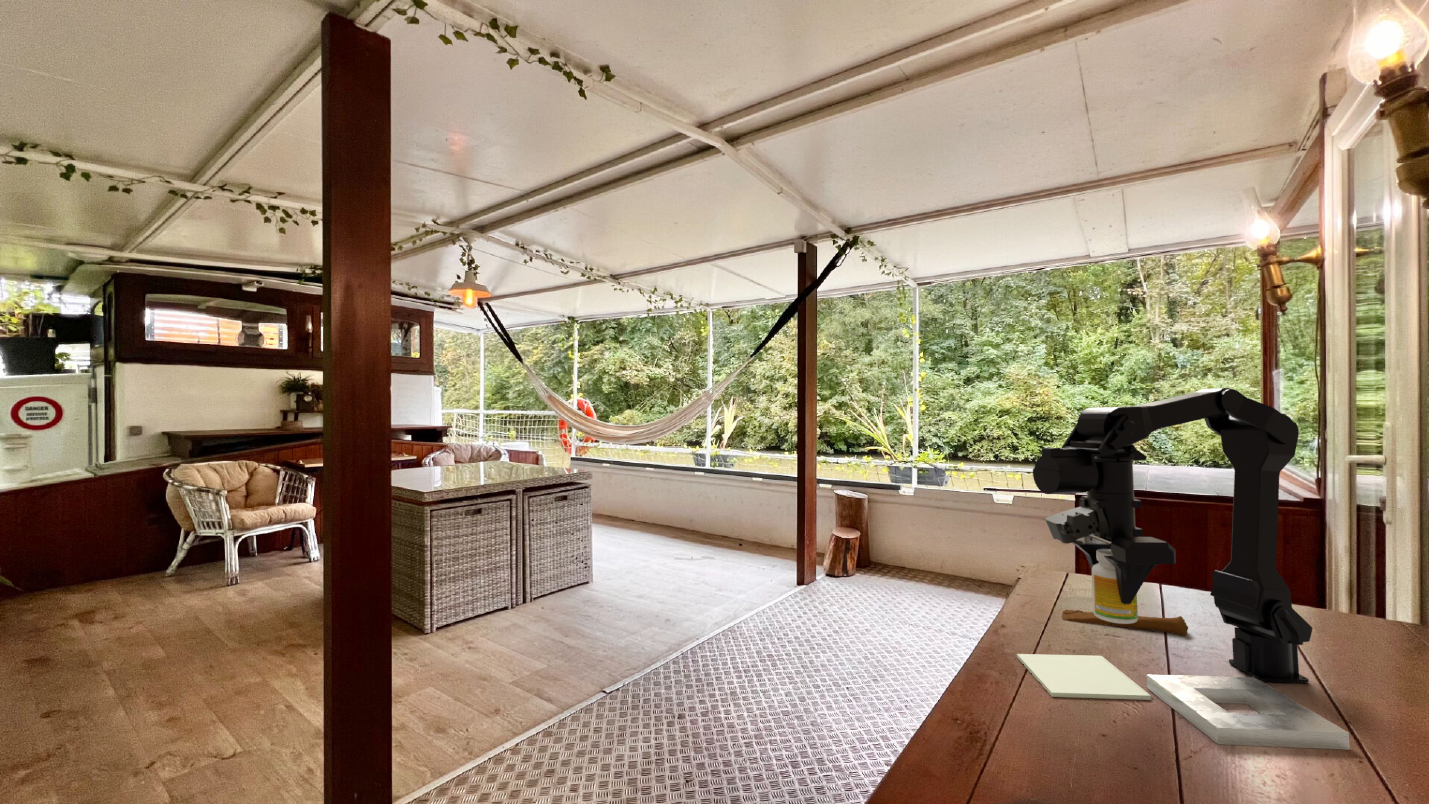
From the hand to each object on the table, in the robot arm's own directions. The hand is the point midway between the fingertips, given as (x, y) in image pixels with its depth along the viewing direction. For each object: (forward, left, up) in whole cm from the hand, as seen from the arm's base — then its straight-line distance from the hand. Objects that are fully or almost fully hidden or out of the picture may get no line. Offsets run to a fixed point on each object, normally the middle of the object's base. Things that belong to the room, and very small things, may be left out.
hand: (1114, 597), depth 83 cm
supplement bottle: (0, 0, -3) cm, 3 cm away
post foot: (-11, +7, -13) cm, 19 cm away
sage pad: (+4, -3, -13) cm, 14 cm away
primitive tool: (-13, -25, -14) cm, 32 cm away
